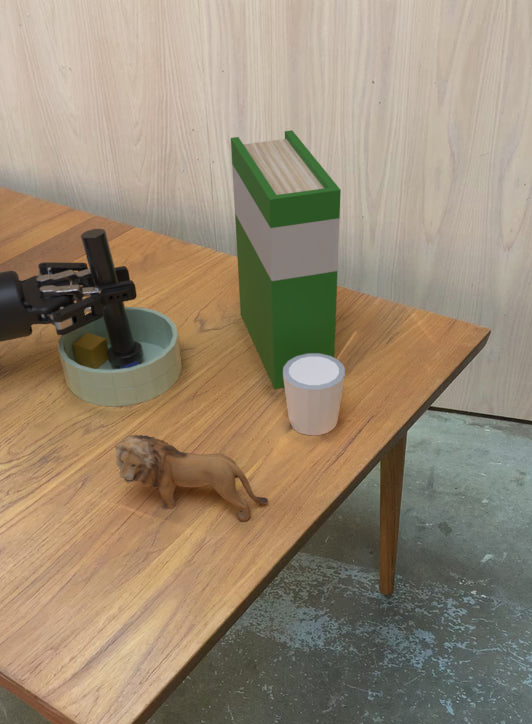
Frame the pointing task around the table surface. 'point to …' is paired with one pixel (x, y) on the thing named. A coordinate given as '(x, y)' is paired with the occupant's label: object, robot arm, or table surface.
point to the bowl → (127, 383)
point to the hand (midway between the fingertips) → (131, 282)
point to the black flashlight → (113, 314)
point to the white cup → (313, 392)
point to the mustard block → (91, 351)
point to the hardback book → (285, 250)
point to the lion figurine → (181, 471)
